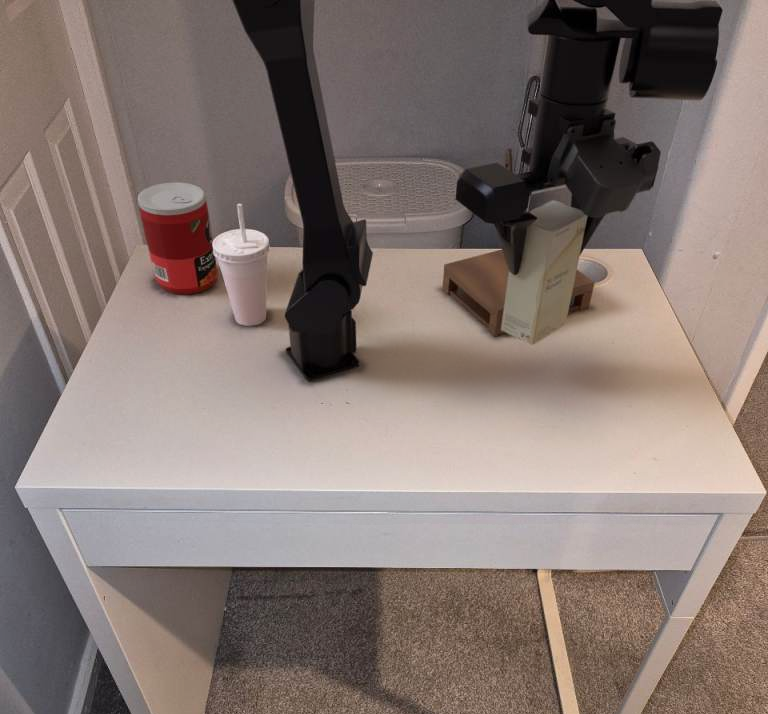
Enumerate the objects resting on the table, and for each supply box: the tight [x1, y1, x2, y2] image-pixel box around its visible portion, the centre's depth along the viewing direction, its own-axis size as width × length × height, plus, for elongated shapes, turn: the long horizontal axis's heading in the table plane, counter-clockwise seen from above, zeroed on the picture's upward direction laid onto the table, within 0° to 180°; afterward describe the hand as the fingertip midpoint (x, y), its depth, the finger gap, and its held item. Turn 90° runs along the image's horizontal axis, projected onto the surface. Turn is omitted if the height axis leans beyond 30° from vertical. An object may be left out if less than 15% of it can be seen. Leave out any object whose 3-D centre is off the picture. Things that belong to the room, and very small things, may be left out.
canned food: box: [137, 182, 219, 295], centre depth 94 cm, size 8×8×11 cm
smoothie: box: [212, 203, 271, 327], centre depth 87 cm, size 6×6×14 cm
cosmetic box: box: [501, 199, 587, 346], centre depth 76 cm, size 6×4×12 cm
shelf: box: [442, 248, 596, 337], centre depth 94 cm, size 14×12×4 cm
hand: (543, 265), depth 75 cm, fingers closed on cosmetic box, 7 cm apart
